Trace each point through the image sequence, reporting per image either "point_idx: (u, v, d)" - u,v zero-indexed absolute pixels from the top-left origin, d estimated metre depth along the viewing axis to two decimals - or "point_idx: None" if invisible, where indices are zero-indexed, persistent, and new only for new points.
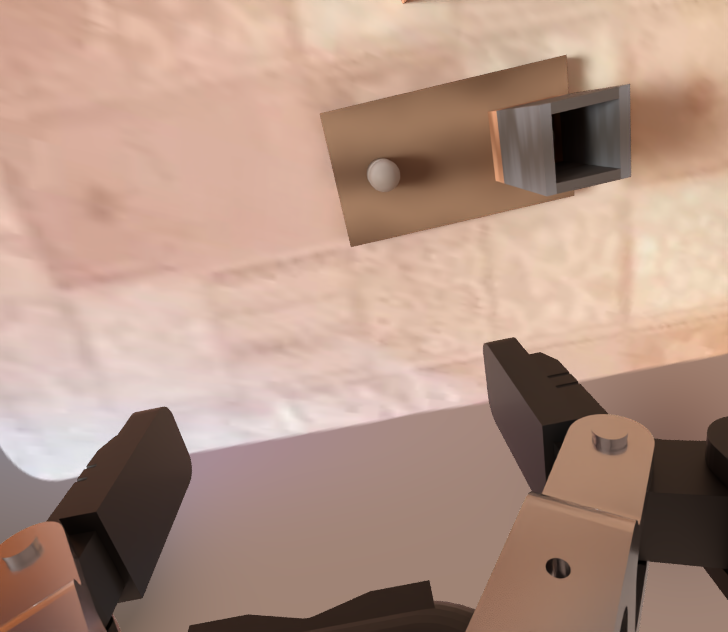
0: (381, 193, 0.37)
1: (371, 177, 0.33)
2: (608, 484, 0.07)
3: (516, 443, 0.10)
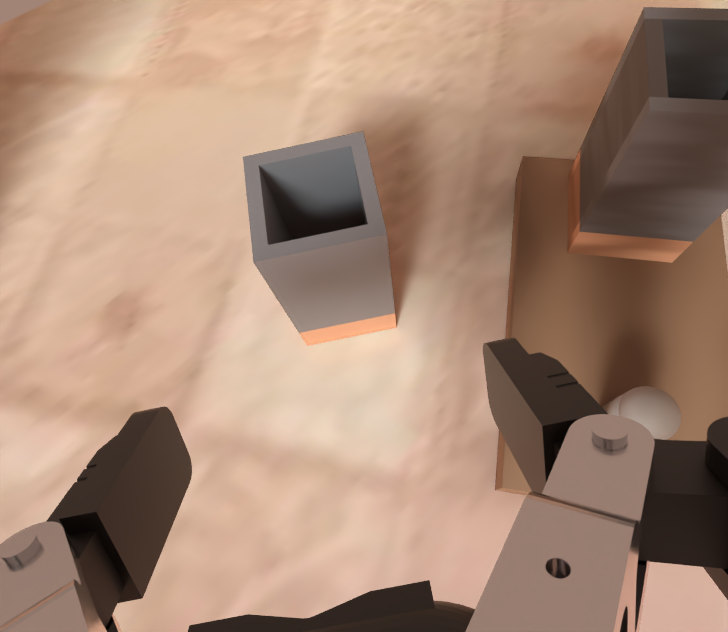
0: None
1: None
2: (608, 484, 0.07)
3: (516, 443, 0.10)
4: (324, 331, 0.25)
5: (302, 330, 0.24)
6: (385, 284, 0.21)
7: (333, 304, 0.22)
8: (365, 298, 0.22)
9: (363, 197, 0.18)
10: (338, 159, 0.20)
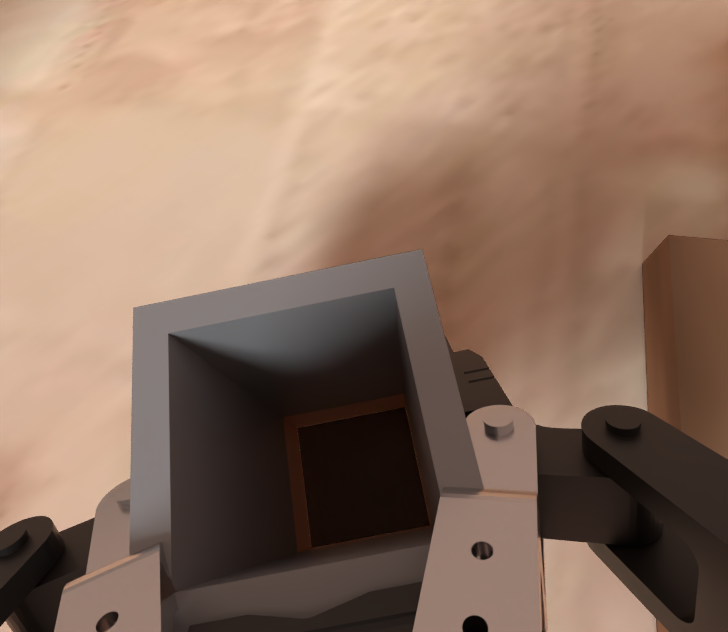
0: None
1: None
2: (506, 467, 0.07)
3: None
4: None
5: None
6: None
7: None
8: None
9: (433, 446, 0.07)
10: (361, 310, 0.08)
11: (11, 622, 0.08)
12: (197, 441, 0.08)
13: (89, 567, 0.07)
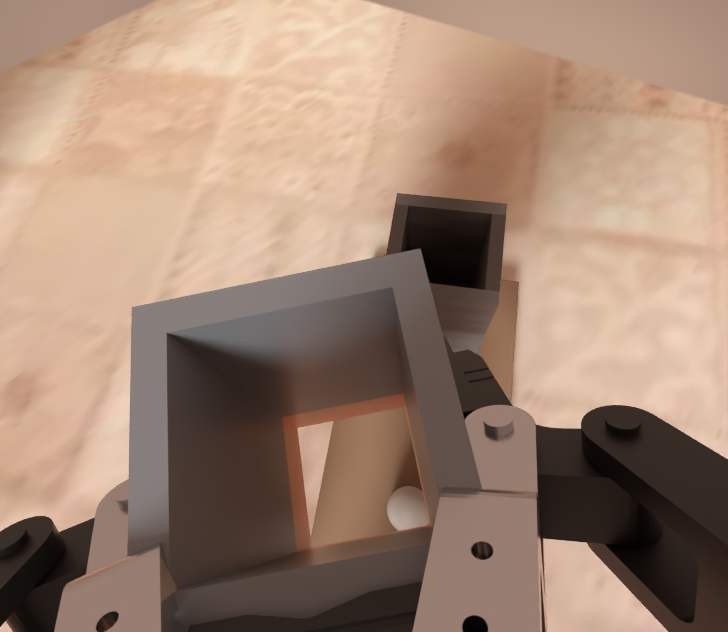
0: None
1: None
2: (506, 467, 0.07)
3: None
4: None
5: None
6: None
7: None
8: None
9: (430, 446, 0.07)
10: (360, 309, 0.08)
11: (11, 622, 0.08)
12: (195, 440, 0.08)
13: (89, 567, 0.07)
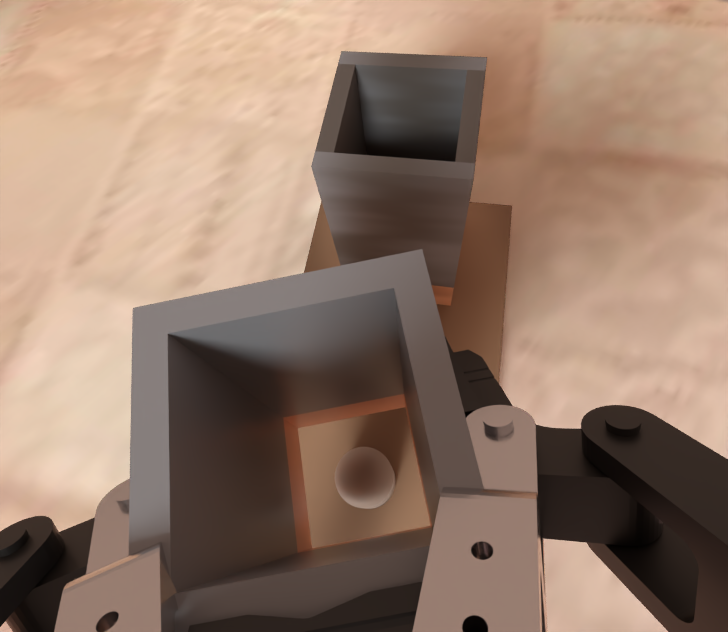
0: (403, 494, 0.20)
1: (354, 502, 0.17)
2: (505, 466, 0.07)
3: None
4: None
5: None
6: None
7: None
8: None
9: (433, 447, 0.07)
10: (361, 310, 0.08)
11: (11, 622, 0.08)
12: (197, 442, 0.08)
13: (90, 567, 0.07)
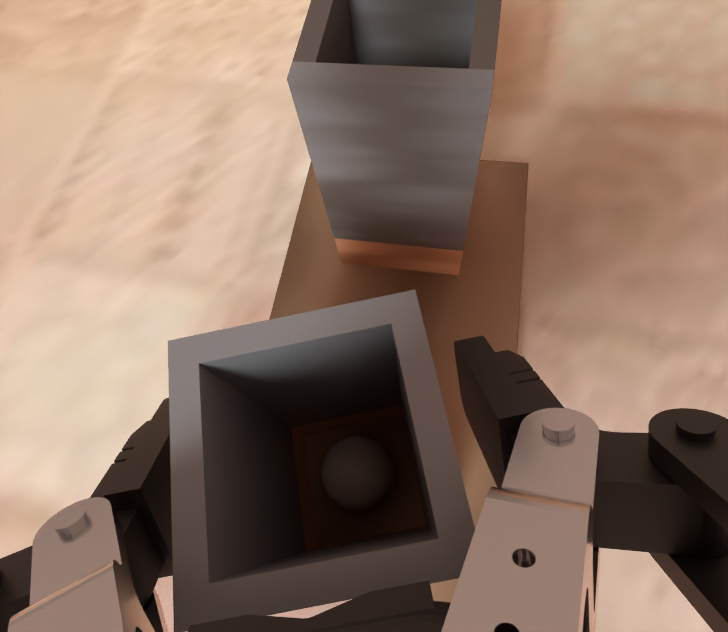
0: (404, 493, 0.17)
1: (343, 503, 0.14)
2: (561, 474, 0.07)
3: (482, 437, 0.11)
4: None
5: None
6: None
7: None
8: None
9: (424, 460, 0.08)
10: (363, 341, 0.10)
11: None
12: (223, 455, 0.10)
13: (33, 600, 0.07)
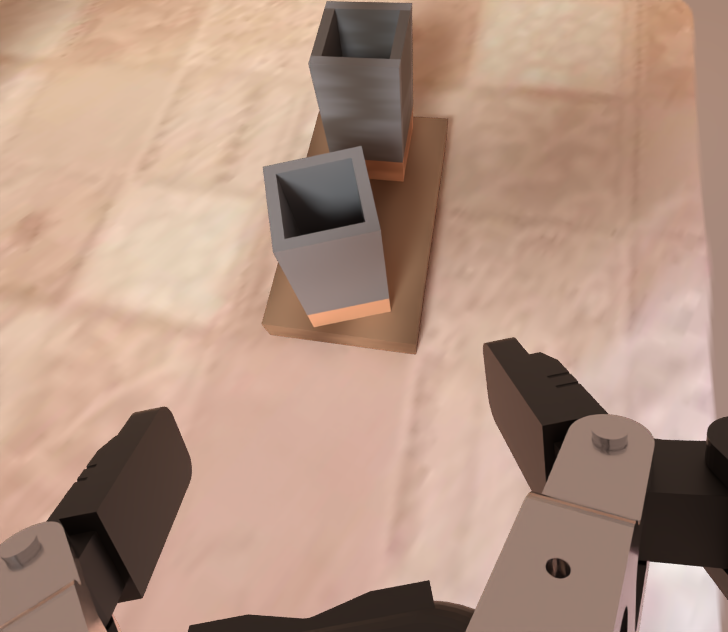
0: None
1: None
2: (608, 484, 0.07)
3: (516, 443, 0.10)
4: (328, 314, 0.29)
5: (310, 313, 0.29)
6: (380, 273, 0.26)
7: (336, 289, 0.26)
8: (363, 284, 0.26)
9: (361, 200, 0.23)
10: (341, 169, 0.24)
11: None
12: (284, 213, 0.24)
13: None
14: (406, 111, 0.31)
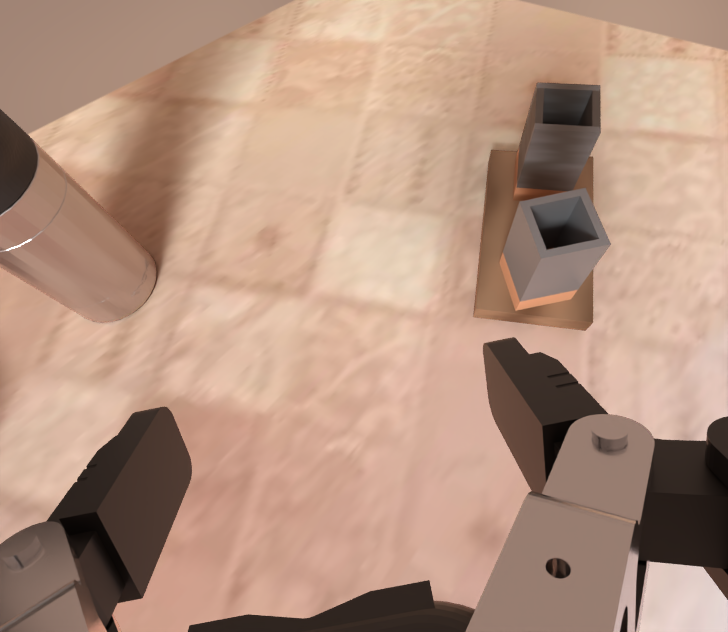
0: None
1: None
2: (608, 484, 0.07)
3: (516, 443, 0.10)
4: (532, 301, 0.41)
5: (523, 300, 0.41)
6: (587, 271, 0.38)
7: (553, 283, 0.39)
8: (571, 279, 0.39)
9: (593, 224, 0.35)
10: (569, 202, 0.36)
11: None
12: None
13: None
14: None
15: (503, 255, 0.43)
